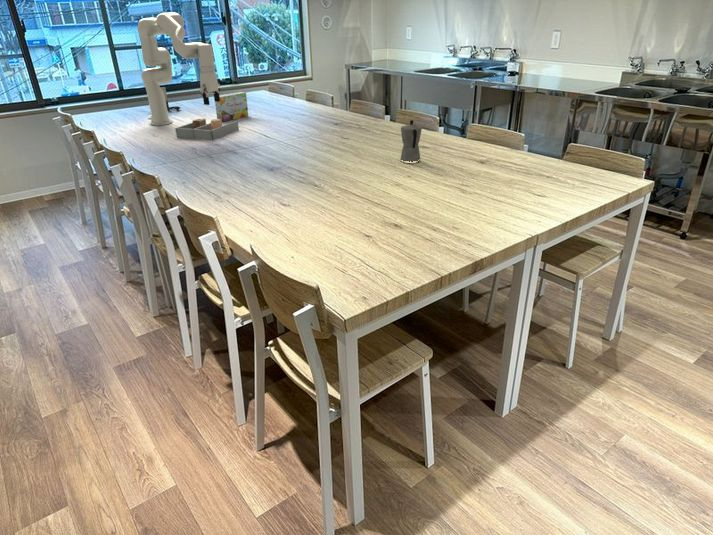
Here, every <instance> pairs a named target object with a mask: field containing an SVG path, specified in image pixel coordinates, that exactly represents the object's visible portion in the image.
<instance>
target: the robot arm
mask: <svg viewBox="0 0 713 535" xmlns="http://www.w3.org/2000/svg"><path fill="white" fill-rule="evenodd" d="M184 26H185V20H184V19H183V16H182V15H181V14H179V13H177V12H162V13H159V14H158V15H157V16H156V17H145V18H142V19H140V20H138V23H137V31H138V35H139V38H140V42H141V54H142V55H141V56H142V61H143V63H144V65H145V66H147V67H148V68H146V69H144V70H142V71H141V76H140V77H141V79H142V82H143V85H144V87H145V91H146V96H147V100H148V103H149V104H148V105H149V110H150V114H151V115H149V116H148V118H147V119H148V120H150V125H152V126H165V125H170V124H172V123H173V120H172V119H170V117H169V116H170V115H169V110H168V111H167V106H166V101H165V96H164V92H163V90H162V89H161V88H160V87H161V86H160V85H167V84H170V83H171V82H172V79H173V68H172V57H171V53H170V52H169V50H168V49H167V48H165V47H159V46H158V41H157V38H156V36H159V35H160V36H161V35H164V36H165V35H167V36H168V37H169V38H170V39H171V44H172V47H173V49H174V50H175V52H176V53H177V54H178V55H179V56H180V57H181V58H184V59H186V60H191V59H198V62H199V63H198V64H199V69H200V71H199V72H200V73H199V84H200V88H199V93H200V95H201V97H202V99H203V105H207V106H209V105H210V97H209V94H211V93H213V99H214V102H215V101H217V102H220V97H219V95H221V94H220V91H221V84H220V83H219V82H218V77H217V73H216V69H215V68H216V66H215V59H214V53H213V52H214V51H213V46H212V44H210V43H204V42H201V41H199V42H198V41H197V42H183V41H184V39H185V37H186V30H185V28H184ZM158 66H159V67H158ZM149 67H150V68H149Z"/></svg>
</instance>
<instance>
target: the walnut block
mask: <svg viewBox="0 0 713 535" xmlns="http://www.w3.org/2000/svg"><path fill="white" fill-rule="evenodd" d="M205 119H206V118H196V119H193V120H192V122H193V127H194V129H195V128H198V127H200V126H203V125H206V124H207V120H206V121H205ZM192 122H191V123H192Z"/></svg>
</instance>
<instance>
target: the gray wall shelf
mask: <svg viewBox="0 0 713 535" xmlns="http://www.w3.org/2000/svg"><path fill="white" fill-rule="evenodd" d="M204 119H205V121H206V122H207V120H206V118H204ZM221 124H222V126H221V127H218V128H215V129H213V130H212V127H211V122H209V123H206V125H203V126H200V127H198V128H195V129H194V127H193V122H190V123H187V124H183V125H181V126H178V127H175V134H176V138H180V139H191V140H204V141H215V140H217V139H219V138H221V137H224V136H227V135H229V134H232V133H234V132H236V131H239V130H240V127H239V120H234V121H231V122H229V123H227V124H224V125H223V122H222V120H221Z"/></svg>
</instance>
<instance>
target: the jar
mask: <svg viewBox="0 0 713 535" xmlns="http://www.w3.org/2000/svg"><path fill="white" fill-rule="evenodd" d="M210 123H211V127H212V130H213V129H215V128H218V127H221V126H223V123H222V124H221V120H220V119H217V118H212V119H211V120H210Z"/></svg>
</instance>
